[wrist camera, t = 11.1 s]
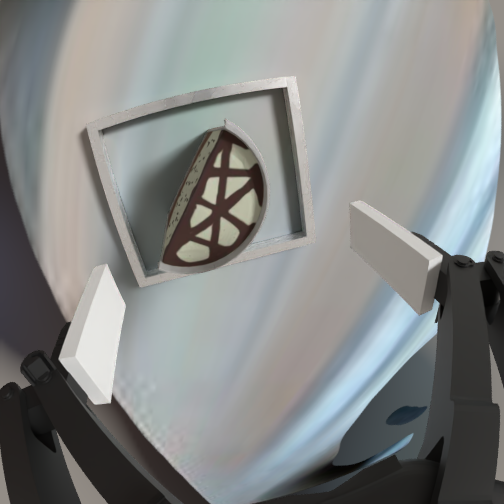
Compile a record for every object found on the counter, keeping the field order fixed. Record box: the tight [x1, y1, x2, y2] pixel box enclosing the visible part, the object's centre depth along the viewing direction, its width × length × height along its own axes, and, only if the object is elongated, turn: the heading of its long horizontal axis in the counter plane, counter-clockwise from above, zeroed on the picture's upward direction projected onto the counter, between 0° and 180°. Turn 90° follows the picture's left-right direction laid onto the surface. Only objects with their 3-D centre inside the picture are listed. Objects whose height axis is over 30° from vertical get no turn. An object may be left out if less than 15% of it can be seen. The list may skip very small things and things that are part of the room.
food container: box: [158, 119, 270, 274], centre depth 26 cm, size 12×6×10 cm, turn 152°
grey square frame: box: [86, 76, 316, 288], centre depth 29 cm, size 18×20×2 cm
